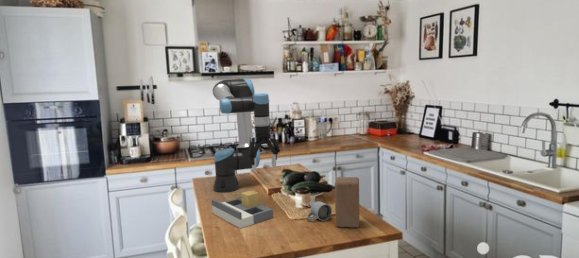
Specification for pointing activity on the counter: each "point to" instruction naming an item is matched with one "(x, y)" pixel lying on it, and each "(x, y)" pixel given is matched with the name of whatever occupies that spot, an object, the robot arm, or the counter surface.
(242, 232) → the counter surface
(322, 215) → the ceramic mug
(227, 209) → the tray
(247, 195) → the ochre cube
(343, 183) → the wooden block
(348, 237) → the counter surface
